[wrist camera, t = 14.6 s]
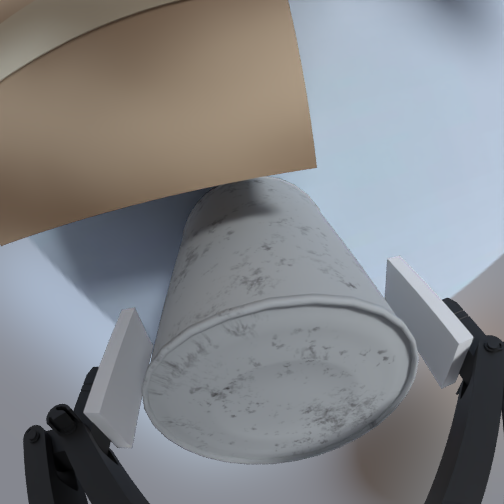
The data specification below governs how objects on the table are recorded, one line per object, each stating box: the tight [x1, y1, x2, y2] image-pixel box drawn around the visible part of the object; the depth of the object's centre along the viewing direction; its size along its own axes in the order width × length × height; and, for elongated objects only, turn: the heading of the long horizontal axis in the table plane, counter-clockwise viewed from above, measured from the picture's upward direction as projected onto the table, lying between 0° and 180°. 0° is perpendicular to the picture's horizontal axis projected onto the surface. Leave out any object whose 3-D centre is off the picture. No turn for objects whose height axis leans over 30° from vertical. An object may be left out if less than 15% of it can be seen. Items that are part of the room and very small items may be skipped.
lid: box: [0, 0, 317, 246], centre depth 6 cm, size 14×12×1 cm
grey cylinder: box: [142, 176, 419, 464], centre depth 15 cm, size 10×10×12 cm
